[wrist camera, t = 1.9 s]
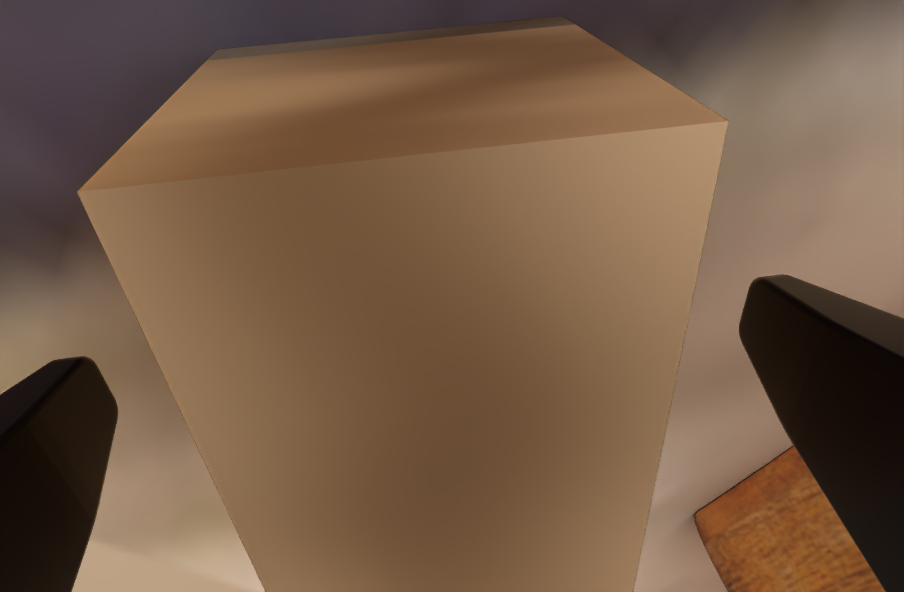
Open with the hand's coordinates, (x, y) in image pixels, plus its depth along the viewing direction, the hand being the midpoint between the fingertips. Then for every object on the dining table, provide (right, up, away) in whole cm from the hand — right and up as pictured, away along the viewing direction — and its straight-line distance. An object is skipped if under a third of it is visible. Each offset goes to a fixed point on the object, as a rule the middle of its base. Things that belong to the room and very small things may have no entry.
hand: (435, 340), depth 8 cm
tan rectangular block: (0, +2, +2) cm, 3 cm away
